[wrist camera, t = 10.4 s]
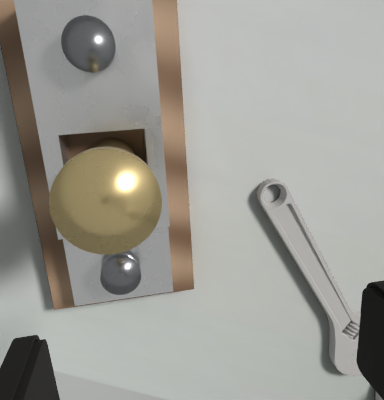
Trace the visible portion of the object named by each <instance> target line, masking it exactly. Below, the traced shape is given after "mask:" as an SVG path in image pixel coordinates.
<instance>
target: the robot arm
mask: <svg viewBox="0 0 384 400" xmlns="http://www.w3.org/2000/svg"><path fill="white" fill-rule="evenodd" d="M357 365H358V368H359V370H360V372H361V374H362V375H363V376H364V377H365V378H366V380H367V381H368V382H369V383H370V385H371V386H372V387H373V388H374V389H375V391H376V393H375V400H384V281H378V282H372V283H369V284H368V285H367V288H366V289H364V290H363V293H362V304H361V316H360V327H359V339H358V350H357ZM0 400H60V399H59V394H58V390H57V386H56V381H55V376H54V372H53V367H52V363H51V358H50V354H49V349H48V345H47V341H46V340H45V339H44V340H40V339H39V337H38V336H37V335H33V336H27V337H21V338H15V339H14V340H13V341H12V343H11V346H10V348H9V350H8V352H7V354H6V357H5V359H4V361H3V363H2V365H1V368H0Z"/></svg>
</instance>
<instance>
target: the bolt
mask: <svg viewBox="0 0 384 400" xmlns="http://www.w3.org/2000/svg"><path fill="white" fill-rule="evenodd" d="M49 208H50V214H51V217H52V220H53V222H54V224H55V226H56V228H57V229H58V231H59V232H60V233H61V235H62V236H63V237H64V238H65V239H66V240H67V241H68V242H70V243H71V244H73V245H74V246H76V247H78V248H79V249H82V250H84V251H87V252H90V253H94V254H103V255H109V254H117V253H122V252H125V251H128V250H130V249H132V248H134V247H136V246H138V245H139V244H141V243H142V242H143V241H144V240H146V239H147V238H148V237H149V236H150V234H151V233H152V232H153V230H154V229H155V227H156V225H157V223H158V221H159V218H160V214H161V209H162V196H161V191H160V188H159V185H158V182H157V179H156V177H155V175H154V173H153V172H152V170H151V169H150V167H149V166H148V165H147V164H146V163H145V162H144V161H143V160H142V159H141V158H139V157H138V156H137V155H136V153H135V151H134V149H133V148H132V147H131V146H130V145H129V144H128V143H127V142H125V141H123V140H121V139H118V138H104V139H101V140H98V141H97V142H95V143H94V144H93V145H92V146H91V147H90V148H89V149H88V150H85V151H83V152H80V153H79V154H77V155H75V156H74V157H72V158H71V159H70V160H69V161H68V162H67V163H66V164H65V165H64V166H63V167H62V169H61V170H60V172H59V173H58V174H57V176H56V177H55V179H54V182H53V184H52V187H51V190H50V195H49Z"/></svg>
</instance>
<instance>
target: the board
mask: <svg viewBox="0 0 384 400" xmlns="http://www.w3.org/2000/svg"><path fill="white" fill-rule="evenodd" d="M152 6H153V18H154V31H155V44H156V56H157V69H158V82H159V94H160V107H161V120H162V132H163V145H164V158H165V170H166V183H167V196H168V208H169V221H170V226H169V227H168V231H169V244H170V256H171V269H172V281H173V292H177V291H183V290H190V289H194V280H193V264H192V247H191V230H190V214H189V197H188V180H187V164H186V147H185V130H184V114H183V97H182V80H181V63H180V47H179V30H178V13H177V0H152ZM0 44H1V49H2V54H3V59H4V64H5V69H6V74H7V79H8V83H9V88H10V93H11V98H12V103H13V108H14V113H15V118H16V123H17V128H18V133H19V138H20V143H21V148H22V153H23V157H24V162H25V167H26V172H27V177H28V182H29V187H30V192H31V197H32V202H33V207H34V212H35V217H36V222H37V227H38V232H39V236H40V241H41V246H42V251H43V256H44V261H45V266H46V271H47V276H48V281H49V286H50V291H51V296H52V301H53V306H54V310H56V309H62V308H69V307H76V306H75V304H74V299H73V293H72V287H71V282H70V276H69V271H68V265H67V260H66V254H65V249H64V243H63V239H61V240H58V236H57V231H56V226H55V224H54V222H53V220H52V217H51V214H50V208H49V195H50V193H49V188H48V182H47V177H46V172H45V166H44V161H43V155H42V150H41V145H40V139H39V134H38V129H37V123H36V118H35V112H34V107H33V102H32V96H31V91H30V85H29V80H28V75H27V69H26V64H25V59H24V53H23V48H22V42H21V37H20V32H19V26H18V21H17V15H16V10H15V5H14V0H0ZM104 138H118V139H121V140H123V141H125V142H127V143H128V144H129V145H130V146H131V147H132V148H133V149H134V151H135V153H136V155H137V156H138V157H139V158H141V159H142V160H143V161H144V162H145V163H146V160H145V149H144V139H143V129H132V130H119V131H106V132H93V133H80V134H67V135H66V139H67V145H68V152H69V158H70V159H71V158H72V157H74V156H75V155H77V154H79V153H80V152H83V151H85V150H88V149H89V148H90V147H91V146H92V145H93V144H94V143H95V142H97V141H98V140H101V139H104ZM166 293H170V292H166ZM160 294H163V293H160ZM153 295H156V294H153ZM146 296H150V295H146ZM139 297H143V296H139ZM133 298H136V297H133ZM126 299H130V298H126ZM119 300H123V299H119ZM113 301H116V300H113ZM106 302H109V301H106ZM99 303H103V302H99ZM92 304H96V303H92ZM86 305H89V304H86ZM79 306H82V305H79Z"/></svg>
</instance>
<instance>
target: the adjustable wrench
mask: <svg viewBox="0 0 384 400" xmlns="http://www.w3.org/2000/svg"><path fill="white" fill-rule="evenodd" d="M269 185H276V186H278V187H279V188H280V196H279V197H278V199H277V200H276V201H274V202H271V203H270V202H267V201H265V200H264V198H263V193H264V191H265V189H266V188H267V187H268V186H269ZM257 199H258V201H259V203H260V204H261V206H262V208H263V209H264V211H265V213H266V214H267V216H268V218H269V219H270V221H271V223H272V224H273V226H274V228H275V229H276V231H277V233H278V234H279V236H280V238H281V239H282V241H283V243H284V244H285V246H286V248H287V249H288V251H289V252H290V254H291V256H292V257H293V259H294V261H295V262H296V264H297V266H298V267H299V269H300V271H301V272H302V274H303V276H304V277H305V279H306V281H307V282H308V284H309V286H310V287H311V289H312V291H313V292H314V294H315V296H316V297H317V299H318V301H319V302H320V304H321V306H322V307H323V309H324V310H325V312H326V314H327V317H328V321H329V332H330V340H329V357H330V359H331V361H332V362H333V364H334V365H335V366H336V368H337V369H338V370H339V371H340V372H341V373H343V374H345V375H348V376H359V375H362V374H361V372H360V370H359V368H358V365H357V362H355V361H353V357H354V353H355V351H356V350H357V349H358V339H359V327H360V316H361V313H359V312H356V311H353V310H351V309H350V308H349V306H348V304H347V302H346V300H345V298H344V297H343V295H342V293H341V291H340V289H339V287H338V285H337V283H336V281H335V279H334V277H333V275H332V273H331V271H330V269H329V267H328V265H327V264H326V262H325V260H324V258H323V256H322V254H321V252H320V250H319V248H318V246H317V244H316V242H315V240H314V238H313V236H312V234H311V232H310V231H309V229H308V227H307V225H306V223H305V221H304V219H303V217H302V215H301V213H300V211H299V209H298V207H297V205H296V203H295V201H294V199H293V197H292V196H291V194H290V192H289V190H288V188H287V186H286V185H285V184H284V183H282V182H280V181H279V180H277V179H267V180H265V181H263V182H262V183H261V184H260V185H259V187H258V189H257Z"/></svg>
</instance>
